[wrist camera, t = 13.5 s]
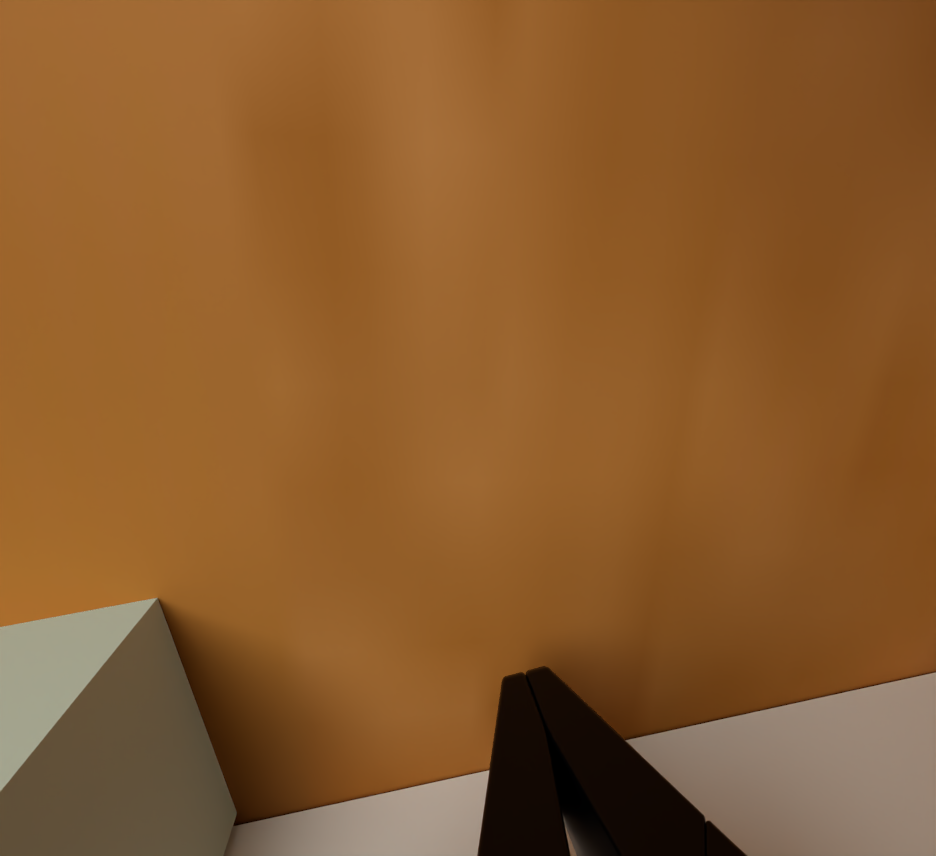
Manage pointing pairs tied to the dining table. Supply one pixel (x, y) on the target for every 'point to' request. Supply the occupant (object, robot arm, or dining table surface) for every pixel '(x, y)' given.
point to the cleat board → (697, 787)
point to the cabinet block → (105, 741)
